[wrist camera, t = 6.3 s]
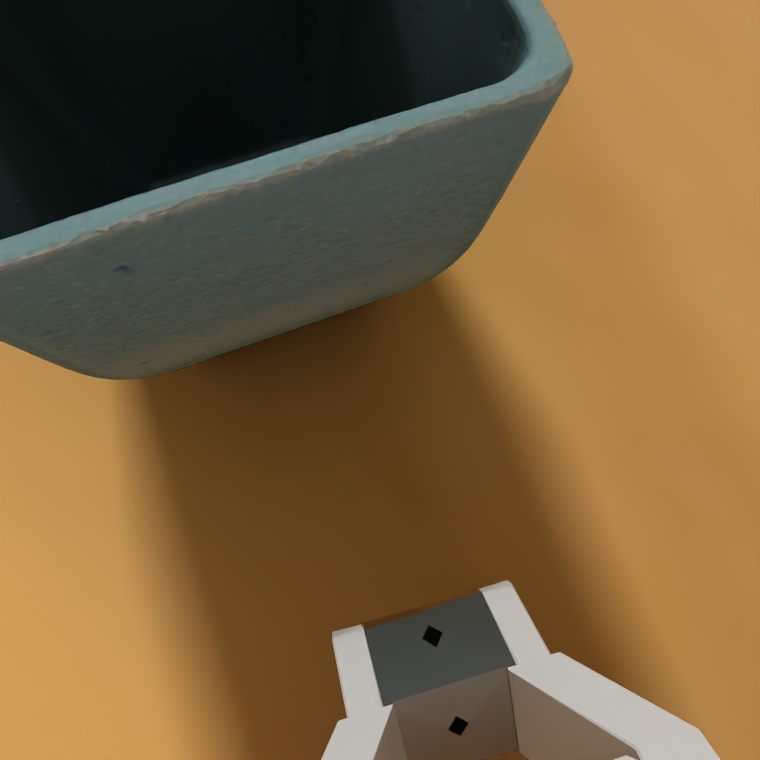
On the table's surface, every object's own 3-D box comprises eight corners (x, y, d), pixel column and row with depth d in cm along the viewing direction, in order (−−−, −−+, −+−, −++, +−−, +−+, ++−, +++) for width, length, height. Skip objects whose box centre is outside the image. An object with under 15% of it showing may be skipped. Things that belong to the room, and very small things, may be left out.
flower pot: (45, 154, 19) (-229, -224, 10) (356, 61, 20) (349, -352, 11) (131, 460, 16) (-133, 305, 8) (480, 336, 17) (590, 78, 9)
